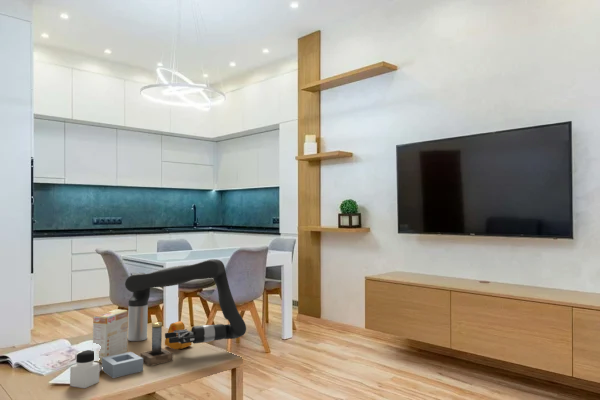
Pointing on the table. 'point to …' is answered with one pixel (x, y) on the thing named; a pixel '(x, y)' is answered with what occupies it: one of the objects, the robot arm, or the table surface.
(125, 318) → the coffeecake box
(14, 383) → the table surface
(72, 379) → the medicine bottle
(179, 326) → the bracket
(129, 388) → the table surface
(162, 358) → the socket block
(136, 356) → the block
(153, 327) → the silver metal cylinder
